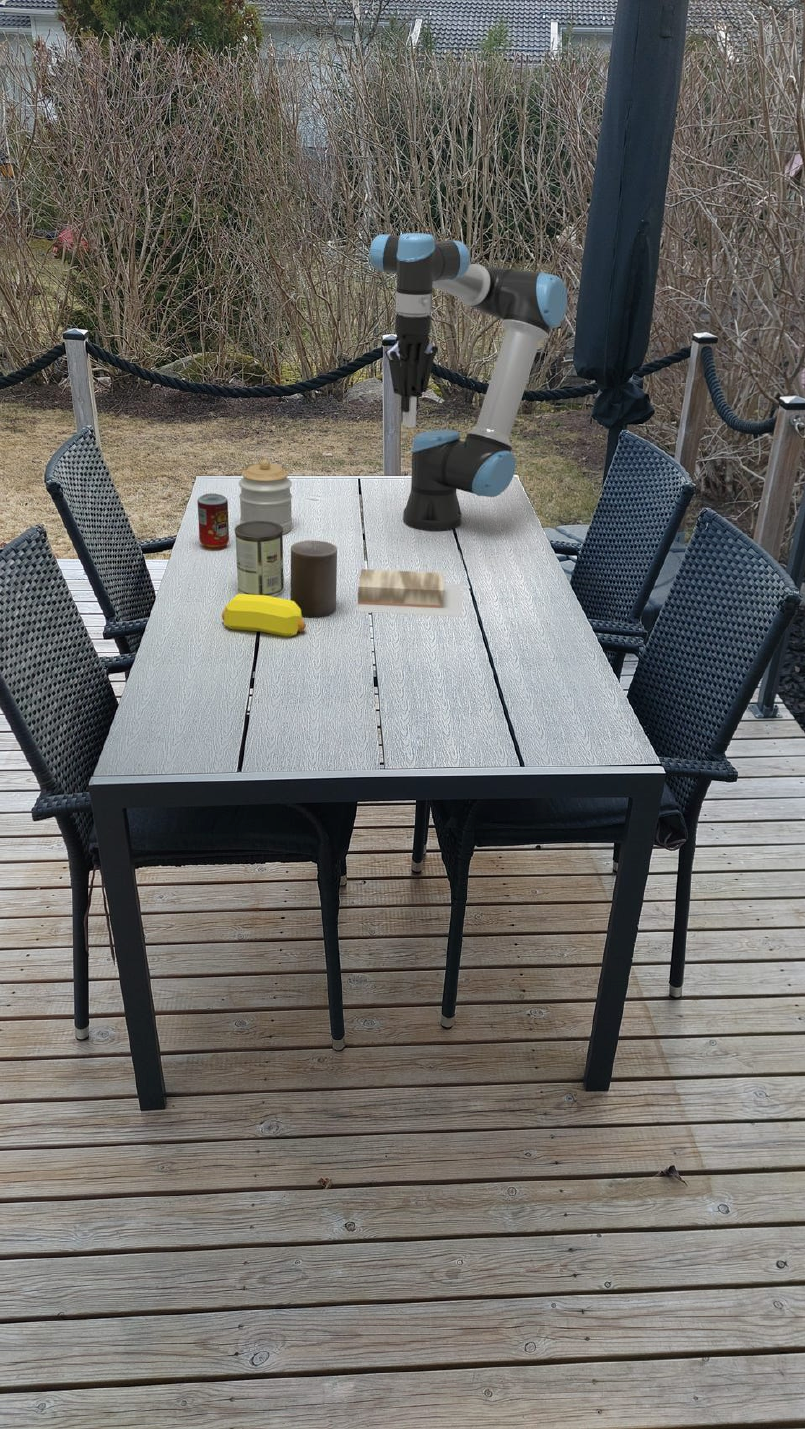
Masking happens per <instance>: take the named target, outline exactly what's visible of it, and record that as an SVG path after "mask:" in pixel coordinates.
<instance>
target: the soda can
mask: <svg viewBox="0 0 805 1429" xmlns="http://www.w3.org/2000/svg"><path fill="white" fill-rule="evenodd" d="M196 501H197V520H198V535H199V536H198V537H199V538H198V539H199V542H200V543H201V545H202V549H205V550H208V551H222V550H224V549H226V548H227V544H228V543H229V540H230V531H229V530H230V528H229V525H230V524H229V501H228V498H227V497H226V496H224V495H223V494H219V493H205V494H203V495H200V496H199V497H198V498H197V500H196Z"/></svg>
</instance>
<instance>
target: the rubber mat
mask: <svg viewBox="0 0 805 1429" xmlns="http://www.w3.org/2000/svg"><path fill="white" fill-rule="evenodd" d="M462 589H463V588H462V583H447V582H443V604H442V608H433V607H412V606H391V605H370V604H358V608H357V612H358V613H359V612H360V613H376V614H377V613H378V614H395V615H396V614H397V615H398V614H400V615H417V616H419V615H420V616H439V617H458V618H459V617H460V618H461V617H462V618H463V594H462Z"/></svg>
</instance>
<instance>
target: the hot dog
mask: <svg viewBox="0 0 805 1429" xmlns="http://www.w3.org/2000/svg"><path fill="white" fill-rule="evenodd" d="M221 619H222V620H223V625H224V626H226V627H227V628H229V629H230V630H237V631H238V630H239V631H250V632H251V631H252V632H262V633H267V634H271V635H277V636H281V637H286V638H287V637H289V638H290V637H292V636H295V635H297V634H298V633H301V632H304V631H305V629H306V626H307V625H306V621H305V620H304V619H303V616H302V614H301V609H300V608H299V607H298V605H297V604H296V603H295V602H294V601H291V600H290V599H285V598H280V597H277V596H275V597H271V596H266V595H249V594H240V593H237V594H236V595H235V596H234V597H233V598H232V599H231V600H230V601H228V603H226V605H225V608H224V610H223V611H222V613H221Z"/></svg>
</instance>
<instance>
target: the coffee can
mask: <svg viewBox="0 0 805 1429" xmlns="http://www.w3.org/2000/svg"><path fill="white" fill-rule="evenodd" d="M234 534H235V550H236V552H235V553H236V554H235V555H236V576H237V578H236V579H237V592H238V594H249V595H266V596H271V597H277V596H279V595H281V594H282V593H283V592H284V591H285V586H284V584H285V580H284V579H285V578H284V576H285V575H284V547H283V546H284V543H283V540H284V539H283V538H284V537H283V536H284V534H283V527H282V526H281V525H279V524H277V523H273V522H268V521H251V522H246V523H242V524H240V523H239V524H238V525H236V526H235V527H234Z"/></svg>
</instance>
